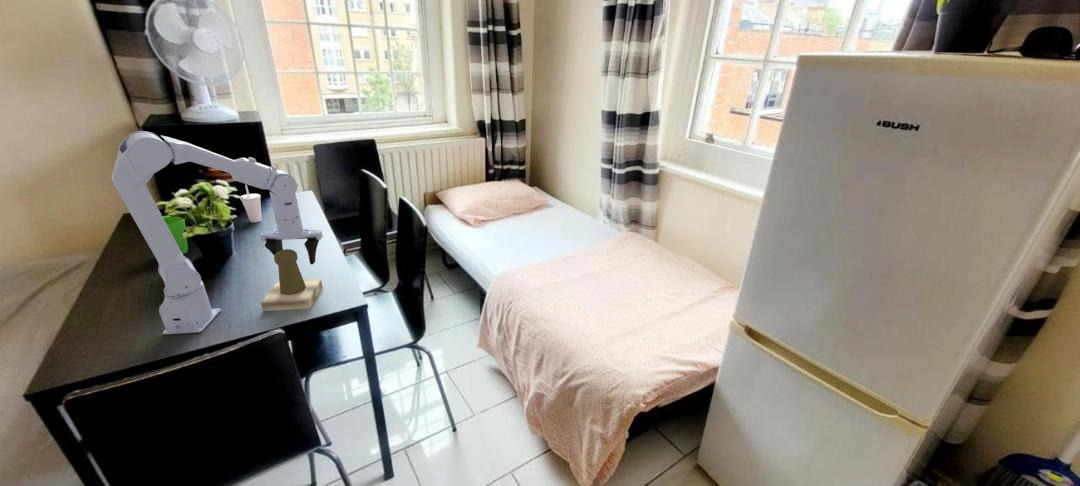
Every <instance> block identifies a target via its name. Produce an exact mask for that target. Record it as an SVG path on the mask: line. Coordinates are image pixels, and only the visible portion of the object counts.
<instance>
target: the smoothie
mask: <svg viewBox="0 0 1080 486" xmlns="http://www.w3.org/2000/svg"><path fill="white" fill-rule="evenodd" d="M248 188H249V187H248V184H245V191H246V194H243V195H241V196H240V197H243V199H242V198H240V197H239V199H240V201H241V202H242V204H243V207H244V209H245V211H246V212H245V213H246V215H247V216H248V220H249V221H250V223H258V222H262V220H263V218H262V217H263V215H262V206H261V203H262V202H261V198H262V197H261V194H259V193H250V192H249V189H248Z"/></svg>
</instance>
